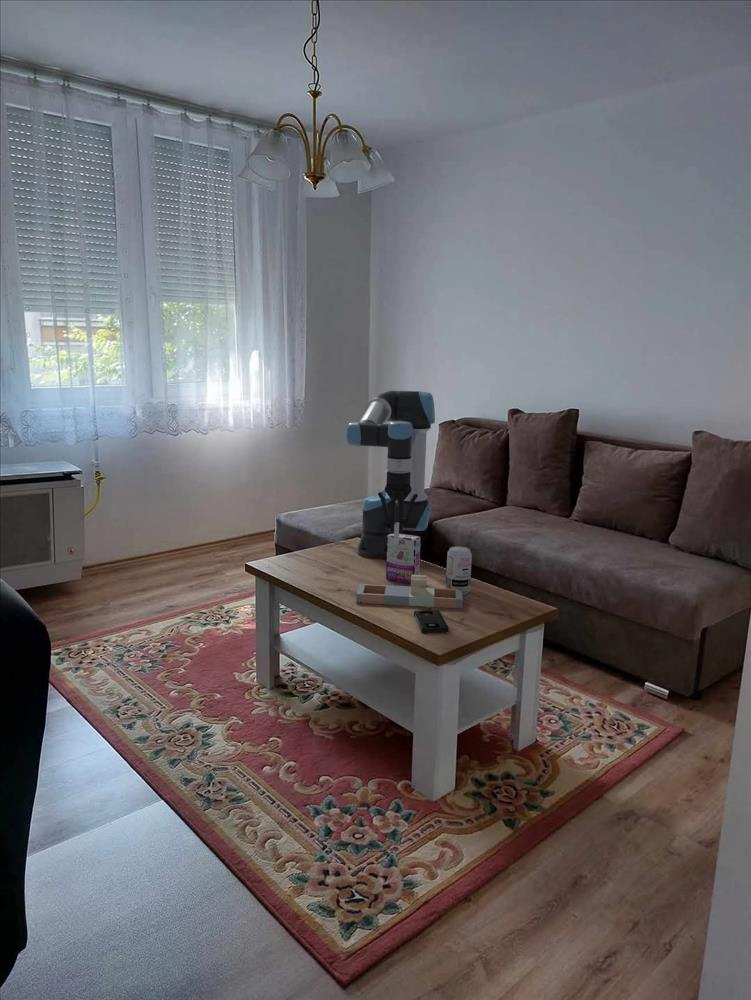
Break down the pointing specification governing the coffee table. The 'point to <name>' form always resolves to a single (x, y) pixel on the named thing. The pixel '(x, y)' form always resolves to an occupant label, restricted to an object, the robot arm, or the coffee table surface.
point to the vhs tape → (431, 621)
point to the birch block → (418, 584)
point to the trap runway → (409, 596)
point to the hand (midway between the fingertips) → (396, 543)
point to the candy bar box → (403, 558)
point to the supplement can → (459, 569)
